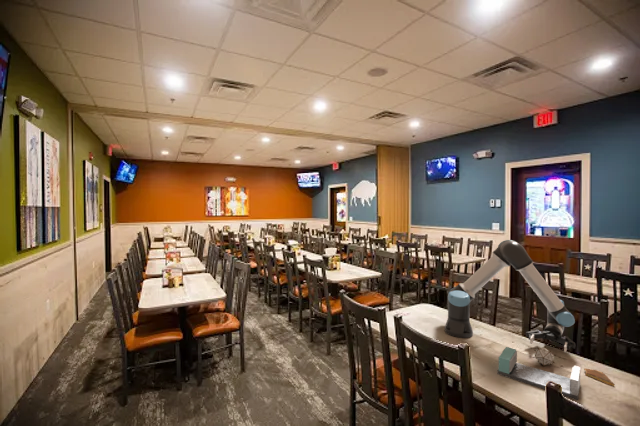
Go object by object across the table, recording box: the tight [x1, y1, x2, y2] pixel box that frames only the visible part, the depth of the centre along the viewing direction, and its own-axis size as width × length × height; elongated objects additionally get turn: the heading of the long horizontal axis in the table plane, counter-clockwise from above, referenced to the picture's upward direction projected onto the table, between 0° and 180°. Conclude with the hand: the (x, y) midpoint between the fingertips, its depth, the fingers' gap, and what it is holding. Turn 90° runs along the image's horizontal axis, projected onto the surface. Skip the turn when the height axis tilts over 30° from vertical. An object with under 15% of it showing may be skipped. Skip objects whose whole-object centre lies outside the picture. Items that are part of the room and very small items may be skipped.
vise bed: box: [496, 362, 581, 401], centre depth 133 cm, size 14×28×8 cm, turn 47°
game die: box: [532, 345, 557, 368], centre depth 146 cm, size 9×8×10 cm
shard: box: [583, 368, 616, 387], centre depth 134 cm, size 11×8×2 cm
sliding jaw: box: [498, 346, 518, 374], centre depth 141 cm, size 14×4×6 cm, turn 137°
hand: (547, 345), depth 153 cm, fingers open, 13 cm apart
